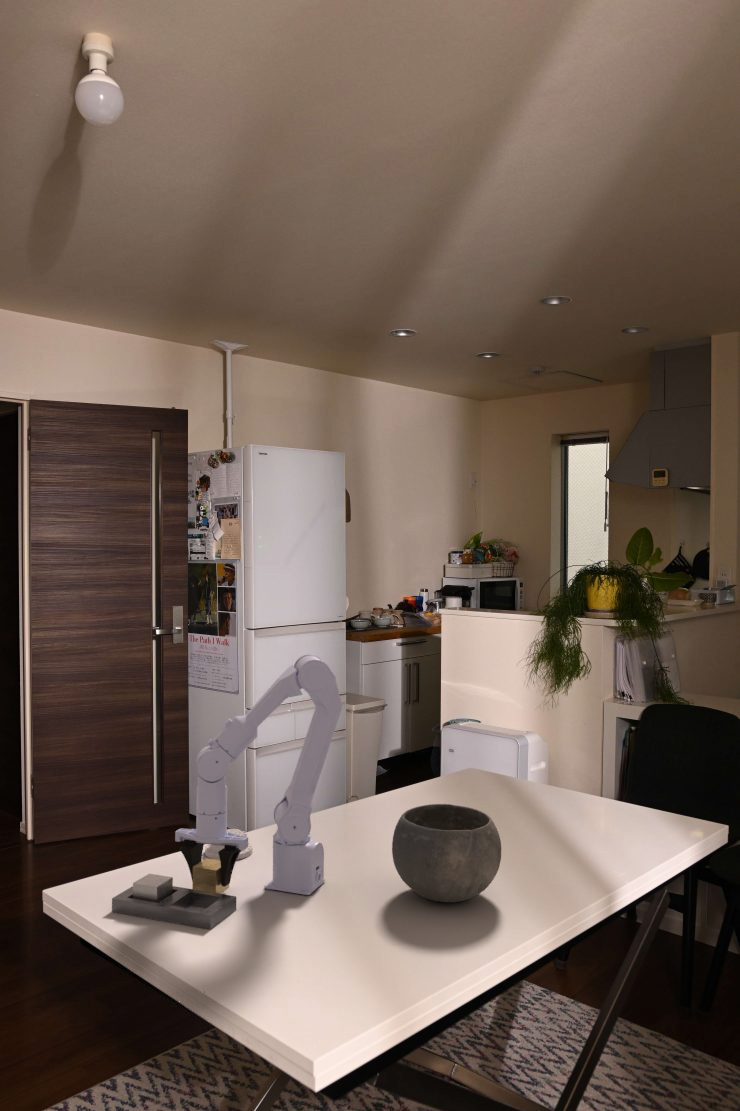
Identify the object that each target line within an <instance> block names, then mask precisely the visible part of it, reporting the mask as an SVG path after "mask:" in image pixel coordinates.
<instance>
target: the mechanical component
mask: <svg viewBox="0 0 740 1111" xmlns="http://www.w3.org/2000/svg"><path fill="white" fill-rule="evenodd" d="M227 832H231V833H234V834H237V835H241V836H245V837H248V834H247V833H246V831H245V830H243V831H242V830H240V829H238V828H237V829H236V828H227ZM223 848H224V846H218V845H210V844H206V846H205V847H204V855H205V856H206V858H208V859H214V860H220V858H219V854H218V852H219V851H220V850H222V849H223ZM252 854H253V844H251V843H250V842H248V847H247V848H246V849H244V850H241V852H240V854H239V856H238V858H237V860H242V859H245V858H248V857H250V856H251V855H252ZM237 860H236V861H237Z"/></svg>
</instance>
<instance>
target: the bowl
mask: <svg viewBox="0 0 740 1111" xmlns="http://www.w3.org/2000/svg"><path fill="white" fill-rule="evenodd" d="M391 842H392V844H391V855H392V861H393V864H394V867H395V870H396V872H397V874H398V875H399V877H400V879H401V881H403V882H404V884H406V886H407V887H408V888H410V889H411V891H413V892H414V893H416V894H418V895H419V896H421V897H423V898H425V899H427V900H429V901H433V902H440V903H457V902H462V901H466V900H469V899H471V898H474V897H476V896H478V895H479V894H481V893H482V892H484V891H485V890H486V889H487V888H489V886H490V885H491V884H492V882H493V880H494V879H495V877H496V875H497V874H498V871H499V868H500V865H501V860H502V840H501V837H500V833H499V831H498V829H497V826H496V825H495V822H494V821H493V819H492V818H491V817H490V816H489V815H488V814H486V813H485V812H483V811H481V810H478V809H476V808H472V807H469V806H463V805H457V804H451V803H450V804H449V803H432V804H431V803H430V804H423V805H419V806H416V807H412V808H409V809H407V810H406V811H404V813H402V815H401V816H400V817H399V819H398V820H397V823H396V825H395V828H394V831H393V835H392V841H391Z"/></svg>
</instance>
